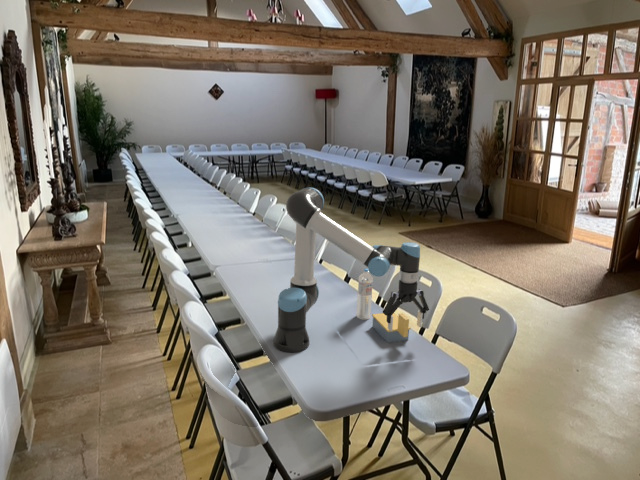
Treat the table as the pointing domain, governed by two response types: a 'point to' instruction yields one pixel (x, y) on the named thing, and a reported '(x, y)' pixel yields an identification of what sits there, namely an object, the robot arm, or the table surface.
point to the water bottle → (364, 296)
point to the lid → (394, 323)
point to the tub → (388, 333)
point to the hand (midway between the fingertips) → (404, 327)
